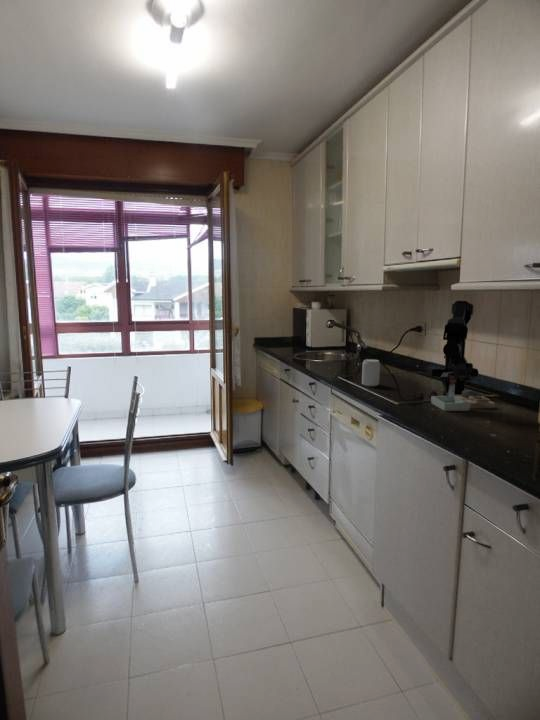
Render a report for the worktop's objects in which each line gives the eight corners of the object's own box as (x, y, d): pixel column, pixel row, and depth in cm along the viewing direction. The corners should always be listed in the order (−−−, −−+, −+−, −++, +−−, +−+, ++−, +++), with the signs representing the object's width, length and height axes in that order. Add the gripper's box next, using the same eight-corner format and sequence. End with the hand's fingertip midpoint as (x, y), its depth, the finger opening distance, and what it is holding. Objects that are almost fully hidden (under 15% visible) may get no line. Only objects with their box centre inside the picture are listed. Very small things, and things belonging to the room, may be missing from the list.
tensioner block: (453, 399, 190) (454, 388, 189) (476, 399, 191) (477, 388, 190) (470, 408, 176) (471, 397, 175) (494, 408, 177) (495, 396, 176)
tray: (430, 402, 184) (431, 396, 184) (454, 402, 185) (455, 395, 184) (444, 410, 172) (444, 403, 172) (469, 410, 173) (469, 403, 173)
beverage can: (371, 382, 222) (372, 358, 220) (382, 385, 215) (383, 361, 213) (358, 384, 218) (359, 359, 216) (368, 387, 211) (370, 362, 209)
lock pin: (443, 396, 180) (445, 377, 178) (452, 396, 180) (454, 377, 179) (447, 399, 176) (449, 379, 175) (457, 399, 176) (458, 379, 175)
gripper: (439, 357, 167) (436, 398, 169) (487, 357, 168) (484, 398, 170) (427, 353, 178) (424, 391, 180) (472, 352, 179) (469, 391, 181)
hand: (450, 393), depth 178 cm, fingers closed on lock pin, 3 cm apart
